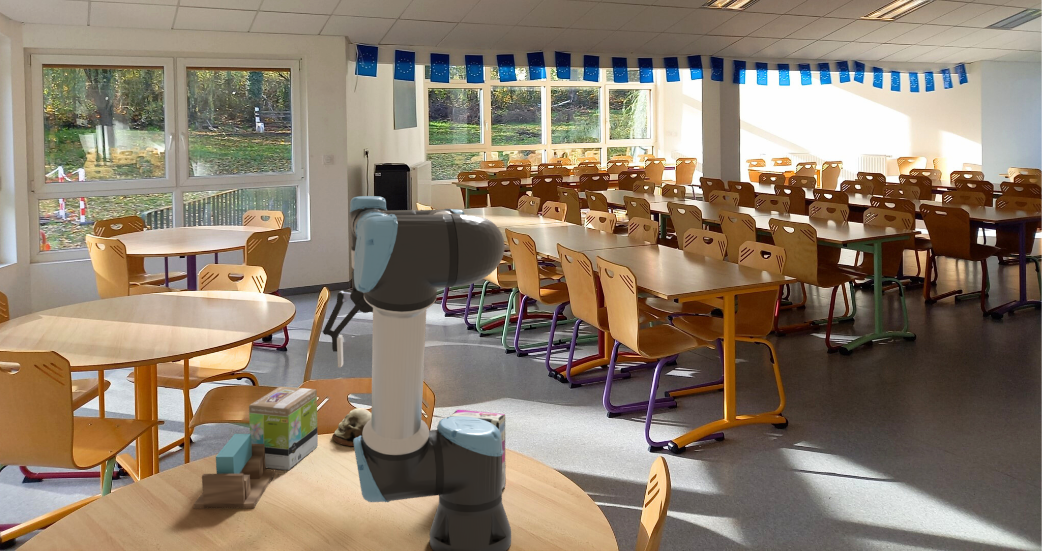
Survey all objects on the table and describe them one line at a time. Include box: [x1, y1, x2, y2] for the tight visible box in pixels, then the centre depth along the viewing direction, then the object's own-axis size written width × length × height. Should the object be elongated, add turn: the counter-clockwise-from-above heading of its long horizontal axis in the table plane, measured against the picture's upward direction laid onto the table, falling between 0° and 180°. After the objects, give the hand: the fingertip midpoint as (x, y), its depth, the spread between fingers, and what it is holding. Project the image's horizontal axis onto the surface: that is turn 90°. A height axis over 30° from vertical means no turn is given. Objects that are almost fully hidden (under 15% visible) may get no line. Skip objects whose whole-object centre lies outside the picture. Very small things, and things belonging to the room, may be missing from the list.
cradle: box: [193, 444, 276, 510], centre depth 180 cm, size 17×12×7 cm
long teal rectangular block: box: [215, 433, 252, 474], centre depth 180 cm, size 13×4×5 cm, turn 2°
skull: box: [331, 407, 372, 447], centre depth 211 cm, size 12×10×10 cm
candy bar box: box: [449, 409, 507, 491], centre depth 182 cm, size 11×5×16 cm, turn 73°
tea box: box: [248, 386, 319, 471], centre depth 198 cm, size 15×10×15 cm, turn 168°
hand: (372, 365), depth 186 cm, fingers open, 13 cm apart
